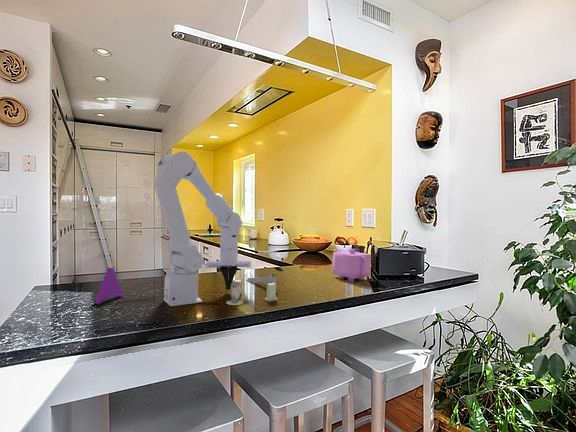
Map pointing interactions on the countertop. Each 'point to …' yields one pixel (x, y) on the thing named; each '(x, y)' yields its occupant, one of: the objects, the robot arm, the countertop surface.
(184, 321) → the countertop surface
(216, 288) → the countertop surface
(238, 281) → the gate
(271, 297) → the latch post
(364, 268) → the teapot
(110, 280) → the arrowhead
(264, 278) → the caliper
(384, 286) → the countertop surface
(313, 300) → the countertop surface
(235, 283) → the hinge post
